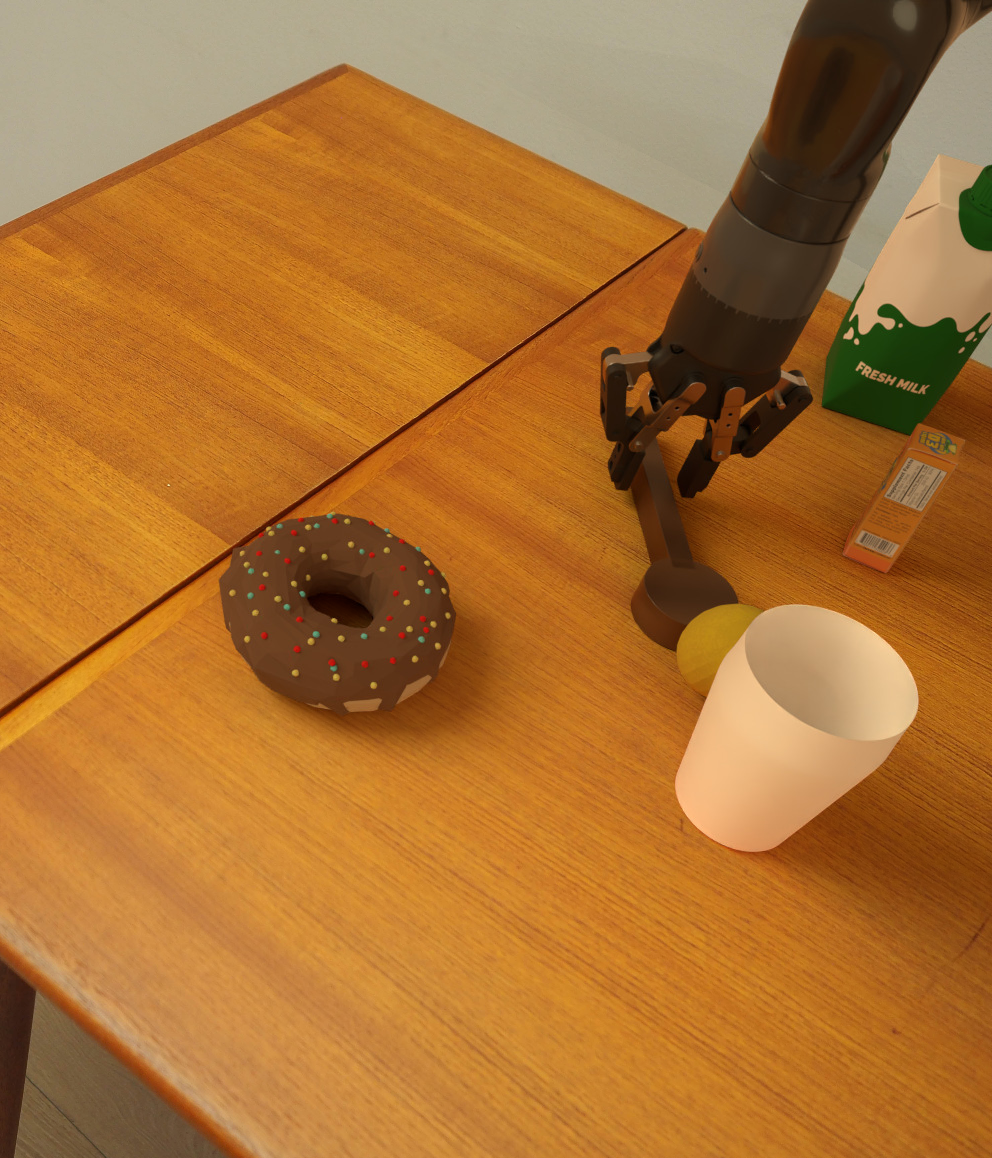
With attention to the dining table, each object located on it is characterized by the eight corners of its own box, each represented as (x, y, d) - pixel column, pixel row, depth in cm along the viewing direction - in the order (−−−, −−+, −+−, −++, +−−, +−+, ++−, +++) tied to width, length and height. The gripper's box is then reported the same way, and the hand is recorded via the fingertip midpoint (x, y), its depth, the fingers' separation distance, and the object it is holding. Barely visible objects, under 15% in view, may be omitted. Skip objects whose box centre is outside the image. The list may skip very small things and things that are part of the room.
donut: (327, 523, 85) (342, 467, 82) (487, 655, 79) (511, 600, 76) (161, 622, 78) (170, 564, 74) (324, 776, 72) (341, 721, 68)
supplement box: (846, 527, 92) (919, 417, 84) (894, 549, 91) (973, 440, 83) (835, 554, 90) (910, 444, 82) (885, 577, 89) (965, 468, 81)
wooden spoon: (585, 427, 96) (596, 402, 94) (665, 437, 96) (677, 412, 94) (640, 648, 81) (654, 623, 80) (733, 658, 82) (749, 633, 80)
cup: (622, 793, 74) (707, 658, 65) (704, 711, 78) (793, 575, 70) (762, 903, 70) (873, 776, 61) (839, 810, 75) (951, 680, 66)
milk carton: (808, 410, 101) (946, 176, 86) (815, 346, 107) (945, 118, 92) (924, 448, 99) (1084, 216, 85) (924, 381, 105) (1074, 155, 91)
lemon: (650, 701, 79) (712, 673, 71) (660, 614, 81) (721, 578, 73) (738, 721, 79) (809, 695, 72) (746, 634, 81) (816, 600, 73)
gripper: (653, 299, 75) (559, 513, 87) (891, 329, 76) (764, 536, 88) (629, 227, 80) (543, 439, 92) (852, 256, 81) (737, 461, 93)
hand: (652, 485), depth 90 cm, fingers open, 4 cm apart
